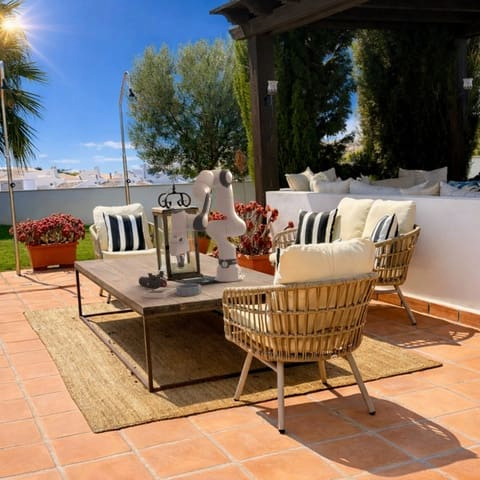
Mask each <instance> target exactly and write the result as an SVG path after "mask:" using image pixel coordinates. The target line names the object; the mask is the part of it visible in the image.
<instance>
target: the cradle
mask: <svg viewBox="0 0 480 480" xmlns="http://www.w3.org/2000/svg"><path fill="white" fill-rule="evenodd" d="M175 293H176V287H166V288H164V287H160V288H158V289H157V288H154V289H153V290H148V291H146V292H144V293H143V296H144V298H148V299H149V298H150V299H153V298H156V299H164V298H167V297H169V296H170V295H172V294H175Z"/></svg>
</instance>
